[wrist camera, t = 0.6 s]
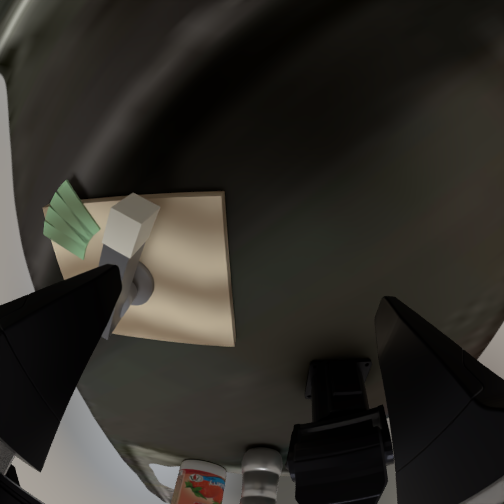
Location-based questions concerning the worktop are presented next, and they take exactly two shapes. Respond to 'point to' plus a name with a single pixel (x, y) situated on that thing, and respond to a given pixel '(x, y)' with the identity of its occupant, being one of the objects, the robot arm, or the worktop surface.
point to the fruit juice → (199, 483)
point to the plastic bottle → (260, 476)
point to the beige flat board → (158, 263)
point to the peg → (126, 247)
